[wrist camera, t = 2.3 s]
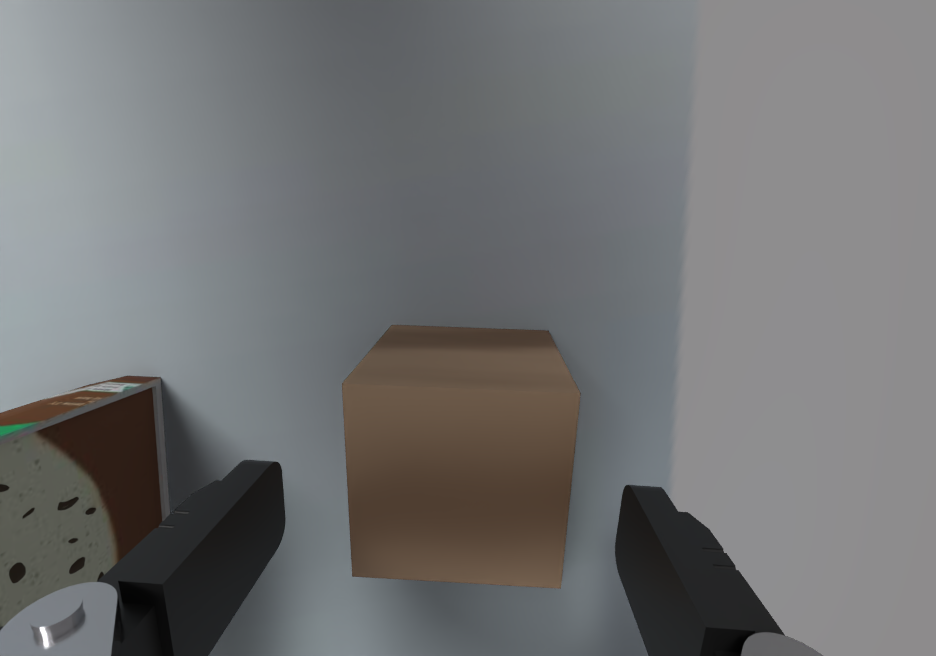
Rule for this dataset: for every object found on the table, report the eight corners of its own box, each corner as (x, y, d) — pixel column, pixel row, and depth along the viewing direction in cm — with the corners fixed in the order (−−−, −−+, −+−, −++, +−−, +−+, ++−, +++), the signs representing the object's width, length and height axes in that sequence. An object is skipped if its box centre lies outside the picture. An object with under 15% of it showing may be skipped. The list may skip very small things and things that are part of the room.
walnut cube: (392, 324, 14) (342, 383, 9) (547, 329, 14) (580, 393, 9) (395, 461, 15) (352, 576, 10) (537, 468, 15) (560, 588, 10)
